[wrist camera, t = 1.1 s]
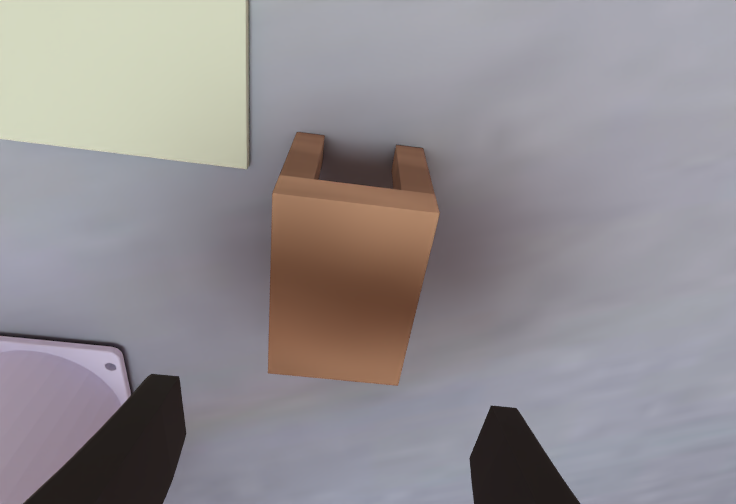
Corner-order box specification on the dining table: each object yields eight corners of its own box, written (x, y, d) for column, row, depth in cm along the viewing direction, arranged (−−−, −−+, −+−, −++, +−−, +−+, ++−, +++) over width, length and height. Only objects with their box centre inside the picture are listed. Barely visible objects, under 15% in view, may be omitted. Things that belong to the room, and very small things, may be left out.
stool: (392, 297, 21) (397, 385, 17) (288, 286, 21) (268, 373, 17) (423, 148, 17) (439, 213, 13) (296, 132, 17) (272, 193, 13)
